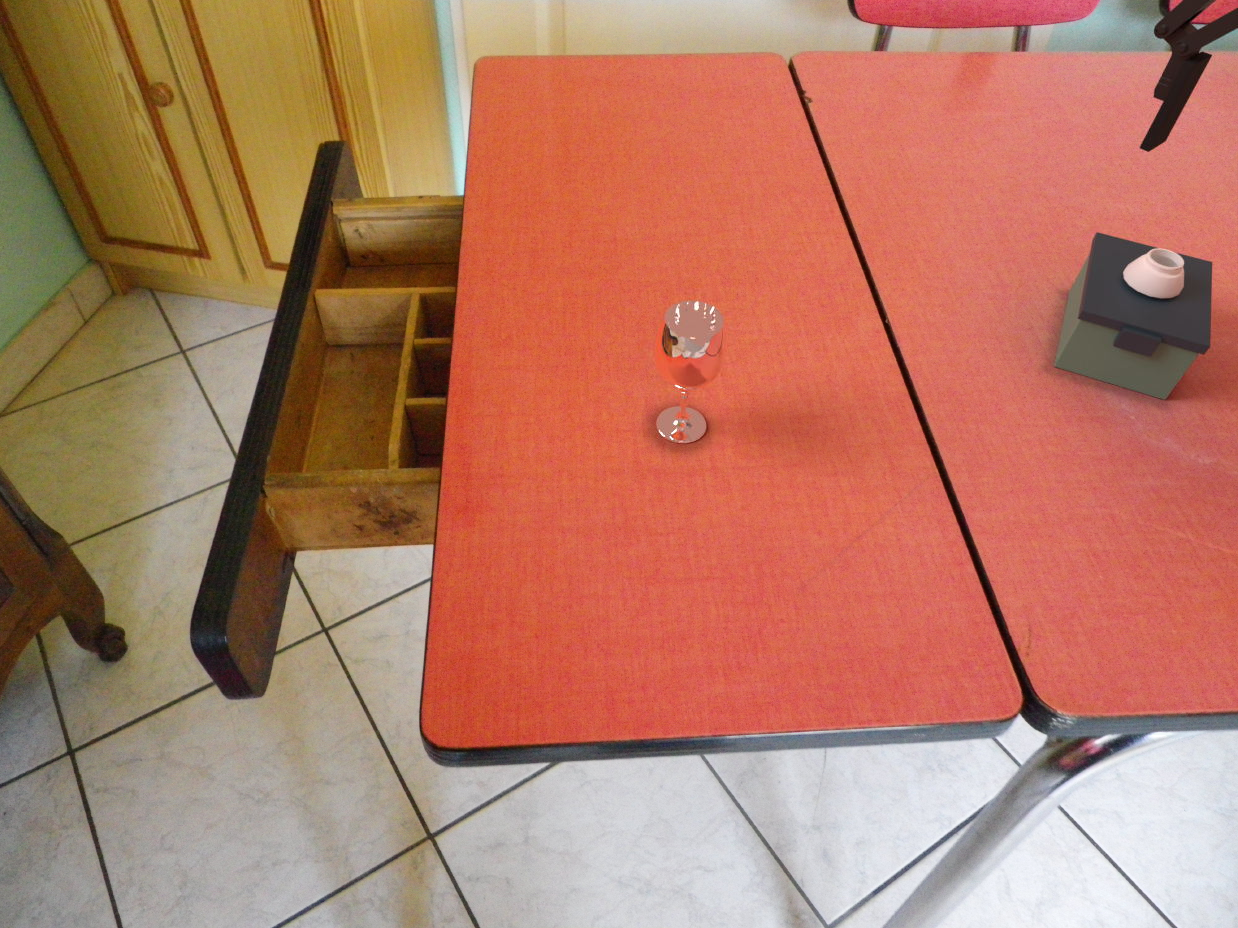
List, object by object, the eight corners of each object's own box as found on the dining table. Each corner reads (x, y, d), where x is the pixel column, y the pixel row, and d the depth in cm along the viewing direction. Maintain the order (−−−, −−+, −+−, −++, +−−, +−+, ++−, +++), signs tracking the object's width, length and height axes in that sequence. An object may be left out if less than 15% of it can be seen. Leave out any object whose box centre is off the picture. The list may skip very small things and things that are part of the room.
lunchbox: (1168, 407, 78) (1210, 350, 73) (1049, 371, 81) (1081, 313, 76) (1174, 315, 87) (1212, 259, 82) (1067, 286, 90) (1097, 229, 84)
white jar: (1111, 269, 80) (1137, 303, 77) (1126, 242, 78) (1154, 276, 75) (1161, 267, 81) (1189, 300, 77) (1177, 240, 78) (1207, 274, 75)
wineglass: (635, 422, 75) (641, 316, 66) (681, 392, 78) (693, 286, 69) (681, 459, 73) (694, 354, 63) (727, 427, 75) (746, 322, 66)
